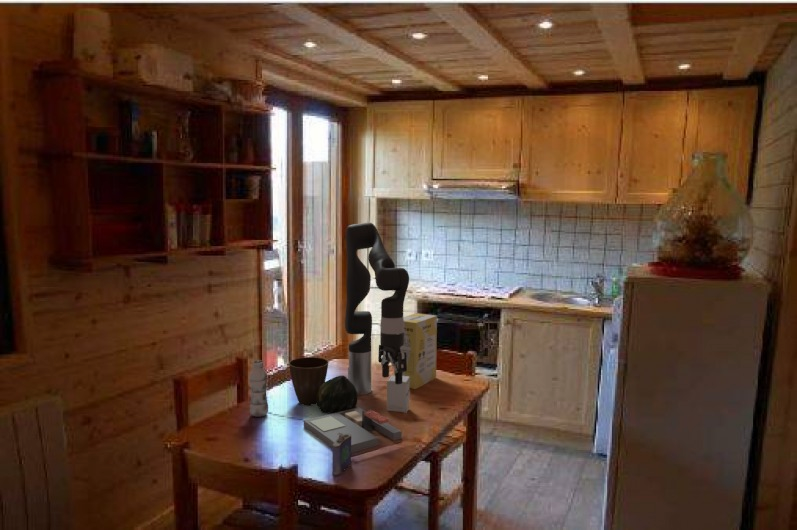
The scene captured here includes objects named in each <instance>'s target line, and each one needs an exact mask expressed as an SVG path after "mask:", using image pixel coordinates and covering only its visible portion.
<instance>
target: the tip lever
mask: <svg viewBox="0 0 797 530" xmlns="http://www.w3.org/2000/svg"><path fill="white" fill-rule="evenodd" d="M363 410H364V411H362V428H364V429H365V430H367V431H368V432H373V429H374V426H373V425H372V420H374V421H376V422H377V423H379V424H383V423H389V421H390V418H388V417H386V416H384V415H382V414H380V413H379V412H376V411H375V410H373V408H368V409H363ZM344 417H345V416H344Z"/></svg>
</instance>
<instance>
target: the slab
mask: <svg viewBox="0 0 797 530" xmlns="http://www.w3.org/2000/svg"><path fill="white" fill-rule="evenodd" d="M345 417H346V418H347V419H349V420H351V421H352V422H354V423H355V424H357V425H359V426H360V427H362V414H360V413H358V412H356V411H352V412H348V413H345Z"/></svg>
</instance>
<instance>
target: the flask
mask: <svg viewBox="0 0 797 530" xmlns="http://www.w3.org/2000/svg"><path fill="white" fill-rule="evenodd" d="M338 434H339V437H338V439H337V440H336V441H335V442H334V444H333V446H332V447H333V449H332V448H331V449H332V471H331V472H332V476H336V477H339V476H340V474H341V473H342V474H343V473H344V472H345V471H344V469H345V470H347V468H349V467H350V466H351V465H352V457H351V456H352V453H351V435H350V434H344V435H343V434H342V433H341V434H340V433H338ZM343 471H344V472H343ZM342 474H341V475H342Z"/></svg>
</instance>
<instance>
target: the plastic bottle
mask: <svg viewBox="0 0 797 530" xmlns="http://www.w3.org/2000/svg"><path fill="white" fill-rule="evenodd" d="M264 367H265V366H264V360H261V359H260V360H253V362H252V370H251V371H250V373H249V375H248V376H249V377H248V380H249V385H250V391H251V392H250V405H249V412H250V415H251V416H252V417H254V416H255V418H260V417H265V416H266V415H267V414H268V413H269V403H268V397H267V383H268V373H267V371H266V370H265V369H264Z"/></svg>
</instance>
